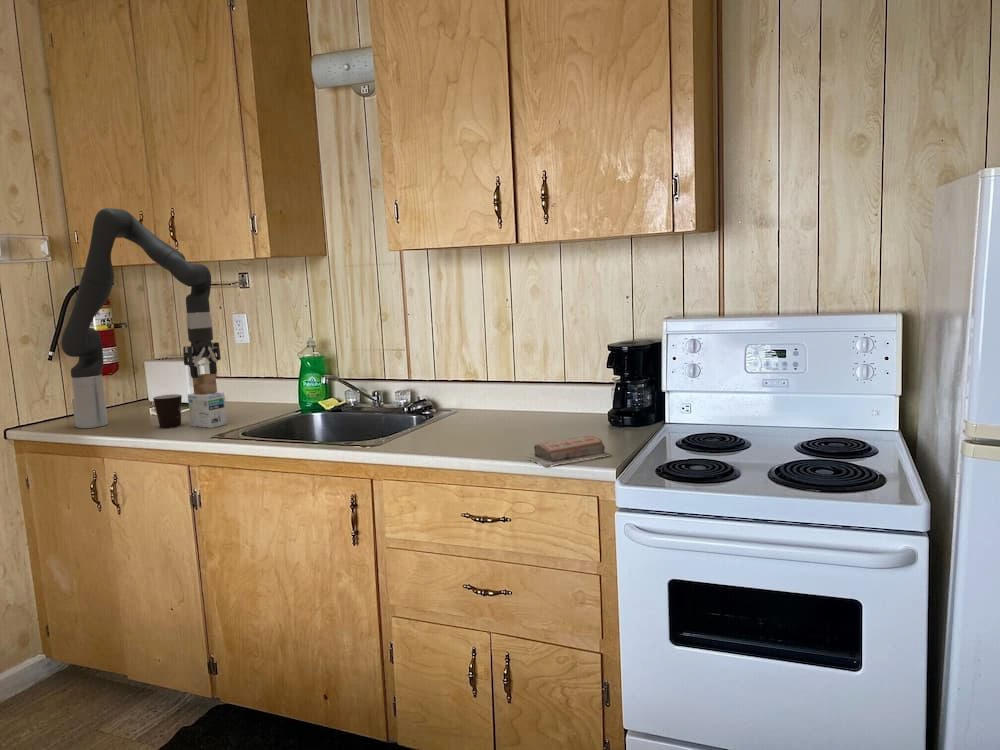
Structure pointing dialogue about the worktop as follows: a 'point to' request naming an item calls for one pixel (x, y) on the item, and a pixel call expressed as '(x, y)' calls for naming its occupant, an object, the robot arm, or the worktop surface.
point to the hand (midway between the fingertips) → (204, 376)
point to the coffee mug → (168, 410)
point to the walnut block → (205, 384)
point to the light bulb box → (207, 410)
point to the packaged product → (567, 450)
